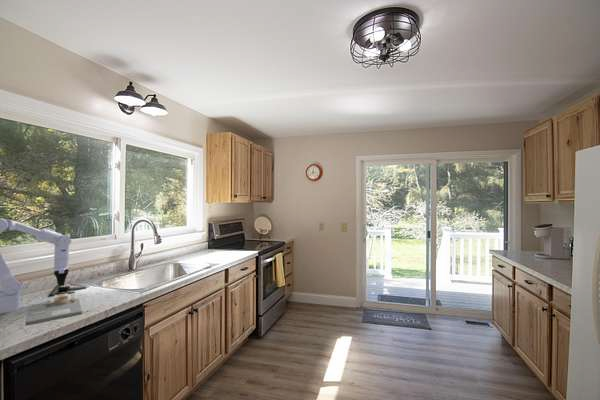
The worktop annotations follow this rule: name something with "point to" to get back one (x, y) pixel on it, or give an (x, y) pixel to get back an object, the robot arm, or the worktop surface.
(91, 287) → the worktop surface
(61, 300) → the birch block
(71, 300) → the slate board
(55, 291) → the door handle
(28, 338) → the worktop surface
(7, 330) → the worktop surface
